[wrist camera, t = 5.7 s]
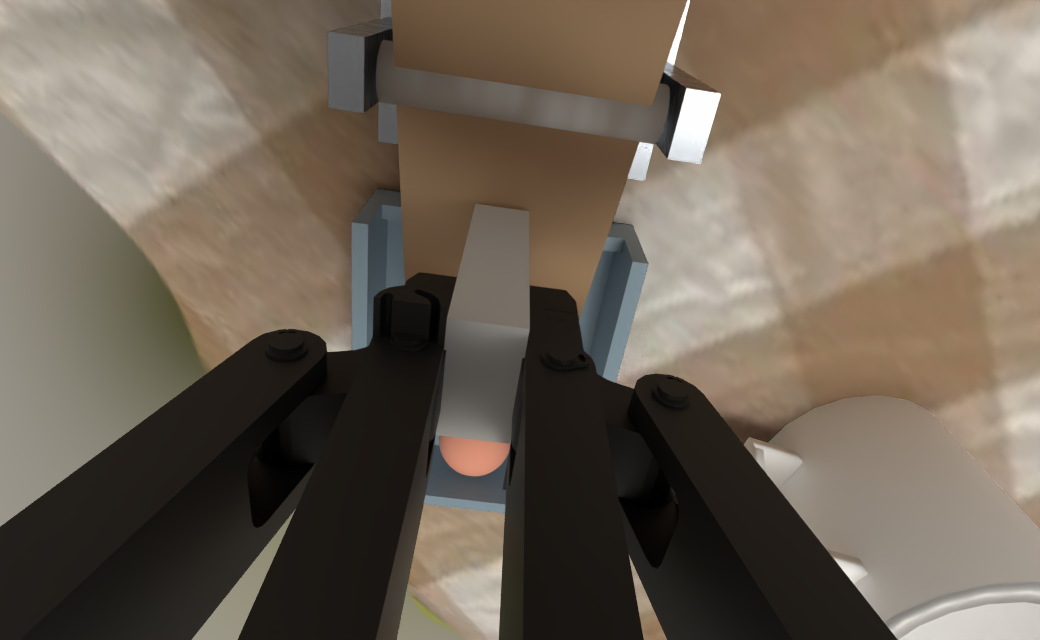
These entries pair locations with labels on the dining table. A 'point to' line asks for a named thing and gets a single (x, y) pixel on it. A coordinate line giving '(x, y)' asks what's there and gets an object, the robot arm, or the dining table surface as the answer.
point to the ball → (473, 455)
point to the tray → (599, 323)
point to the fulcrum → (357, 93)
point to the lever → (523, 121)
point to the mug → (910, 519)
